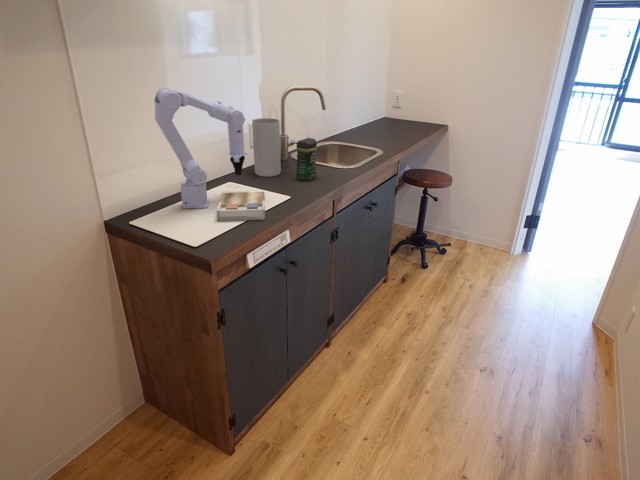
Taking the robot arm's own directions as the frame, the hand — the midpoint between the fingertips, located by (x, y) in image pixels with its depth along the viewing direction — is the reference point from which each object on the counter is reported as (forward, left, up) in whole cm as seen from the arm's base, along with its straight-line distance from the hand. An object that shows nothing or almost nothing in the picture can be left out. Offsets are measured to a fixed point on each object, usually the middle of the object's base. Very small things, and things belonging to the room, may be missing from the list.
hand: (238, 174), depth 170 cm
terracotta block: (-2, -21, -8) cm, 22 cm away
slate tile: (+6, -21, -8) cm, 23 cm away
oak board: (+2, -9, -9) cm, 13 cm away
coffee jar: (+30, +22, -10) cm, 38 cm away
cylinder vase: (+12, +31, -10) cm, 35 cm away
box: (+2, -20, -9) cm, 23 cm away
